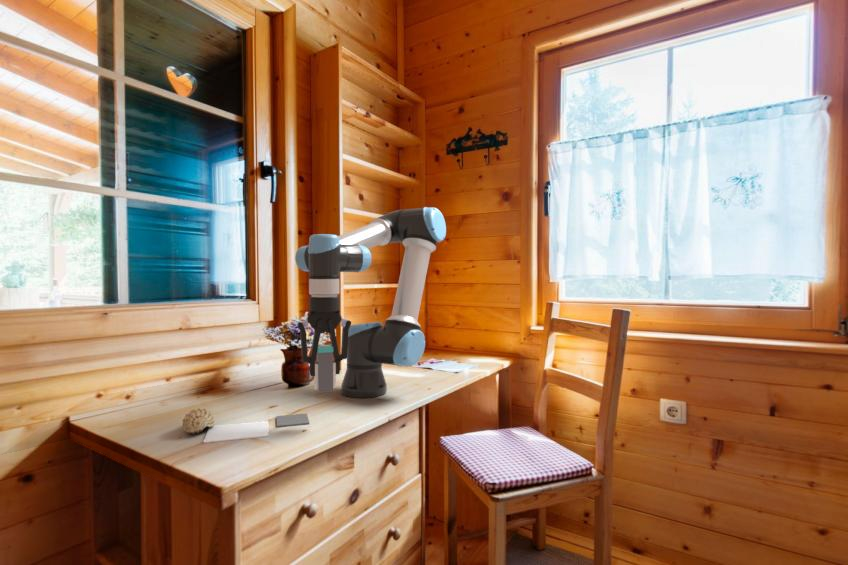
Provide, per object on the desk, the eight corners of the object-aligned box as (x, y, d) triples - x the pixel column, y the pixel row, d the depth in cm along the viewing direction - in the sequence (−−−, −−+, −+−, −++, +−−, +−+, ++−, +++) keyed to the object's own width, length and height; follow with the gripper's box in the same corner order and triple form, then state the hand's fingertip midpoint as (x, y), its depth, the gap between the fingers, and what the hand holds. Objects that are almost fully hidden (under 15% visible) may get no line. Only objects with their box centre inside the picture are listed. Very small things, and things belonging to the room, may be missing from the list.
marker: (331, 387, 113) (331, 344, 112) (333, 391, 109) (333, 347, 109) (316, 388, 111) (316, 345, 111) (318, 392, 108) (317, 348, 107)
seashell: (176, 443, 106) (190, 434, 100) (171, 419, 108) (184, 408, 102) (209, 433, 112) (224, 424, 106) (203, 410, 114) (218, 400, 107)
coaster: (306, 414, 120) (306, 413, 120) (309, 424, 113) (309, 422, 113) (276, 417, 117) (276, 416, 117) (276, 427, 110) (276, 425, 110)
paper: (268, 421, 114) (268, 420, 114) (268, 436, 104) (268, 435, 104) (209, 427, 109) (209, 426, 109) (203, 443, 99) (203, 442, 99)
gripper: (354, 294, 116) (354, 381, 116) (289, 295, 110) (290, 386, 111) (360, 296, 109) (360, 388, 109) (290, 297, 103) (291, 395, 104)
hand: (325, 387), depth 110 cm, fingers closed on marker, 4 cm apart
